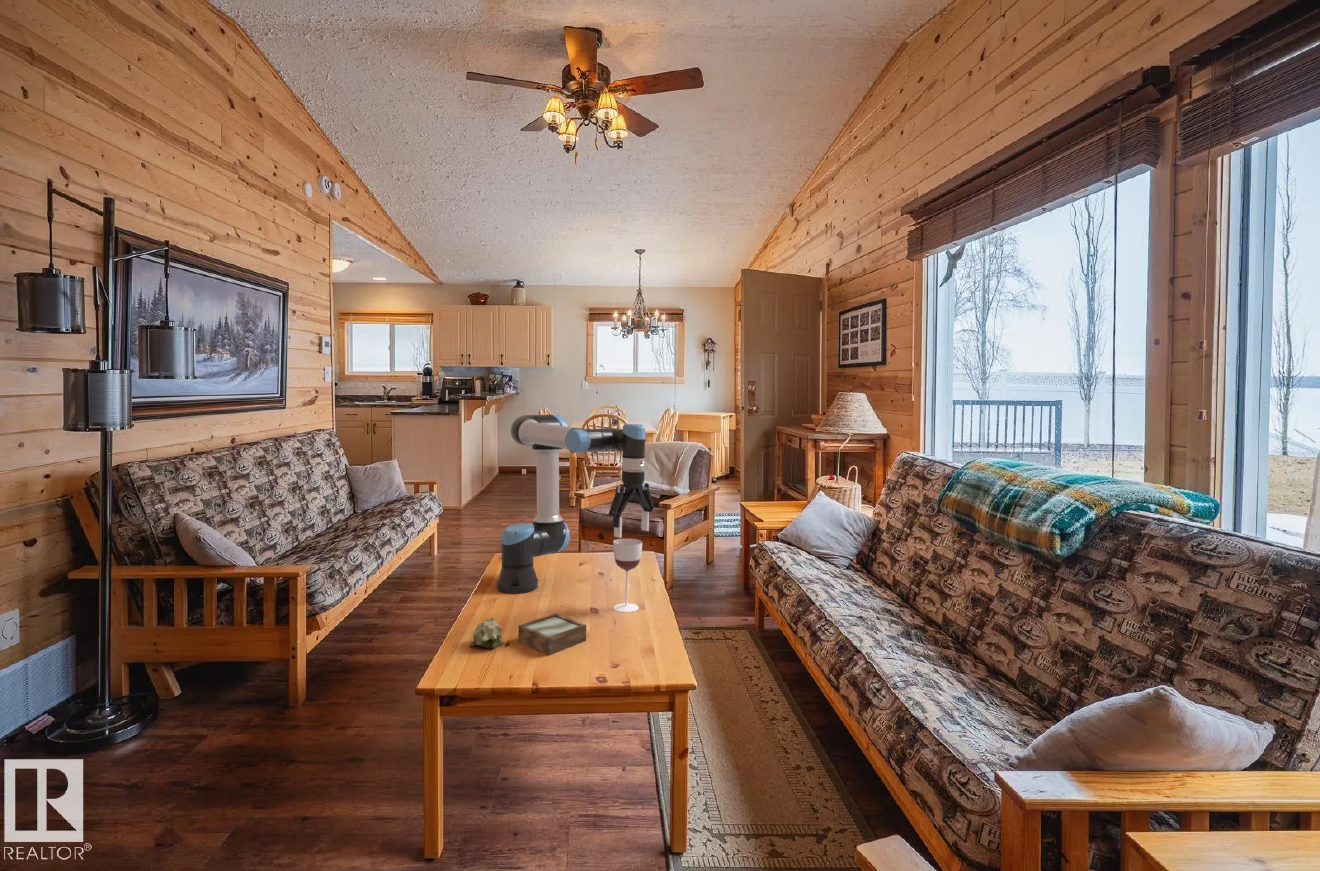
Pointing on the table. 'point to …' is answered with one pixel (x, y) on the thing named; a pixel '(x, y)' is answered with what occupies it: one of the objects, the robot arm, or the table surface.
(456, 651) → the table surface
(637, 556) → the wineglass
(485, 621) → the fruit
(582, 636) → the stand
